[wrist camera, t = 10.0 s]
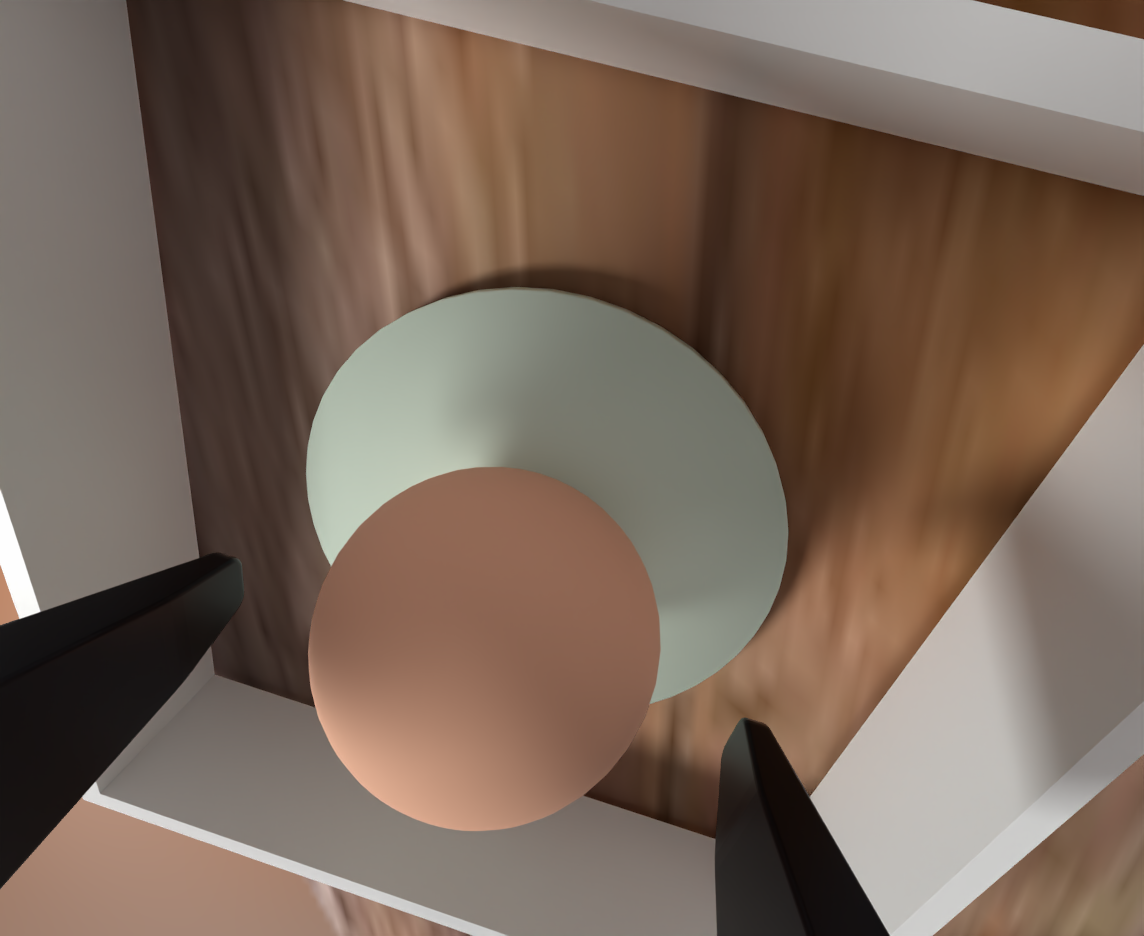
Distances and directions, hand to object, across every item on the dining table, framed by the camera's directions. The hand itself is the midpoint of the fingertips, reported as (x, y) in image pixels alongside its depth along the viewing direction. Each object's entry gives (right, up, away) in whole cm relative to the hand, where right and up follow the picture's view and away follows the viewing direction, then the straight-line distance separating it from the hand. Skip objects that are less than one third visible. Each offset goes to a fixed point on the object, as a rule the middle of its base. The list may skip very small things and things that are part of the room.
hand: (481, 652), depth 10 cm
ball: (+1, +2, +3) cm, 4 cm away
